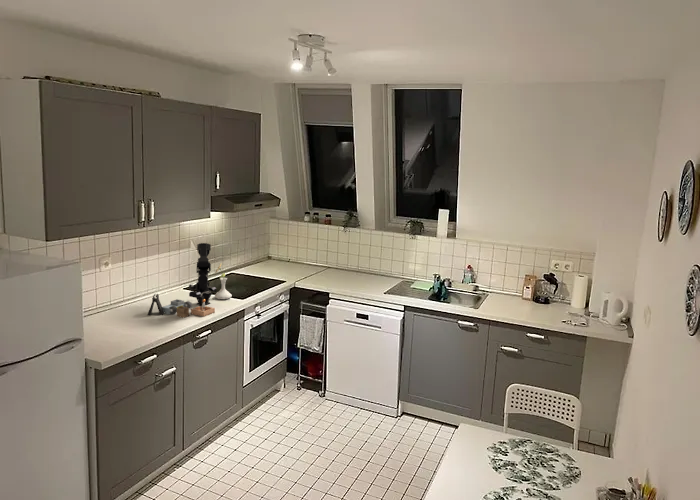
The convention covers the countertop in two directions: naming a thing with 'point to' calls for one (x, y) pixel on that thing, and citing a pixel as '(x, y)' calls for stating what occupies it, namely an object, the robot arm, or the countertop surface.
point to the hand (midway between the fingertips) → (202, 305)
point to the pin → (203, 305)
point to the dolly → (175, 306)
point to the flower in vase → (223, 292)
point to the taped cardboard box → (182, 311)
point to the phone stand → (157, 305)
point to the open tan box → (202, 313)
